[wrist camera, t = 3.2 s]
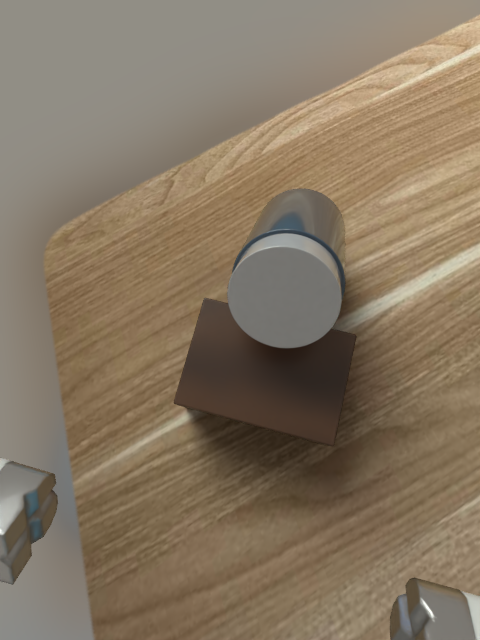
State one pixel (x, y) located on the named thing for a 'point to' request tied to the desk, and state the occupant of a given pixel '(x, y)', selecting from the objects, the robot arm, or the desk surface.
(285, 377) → the prop block
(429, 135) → the desk surface
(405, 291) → the desk surface
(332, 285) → the jar
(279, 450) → the desk surface
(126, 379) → the desk surface
